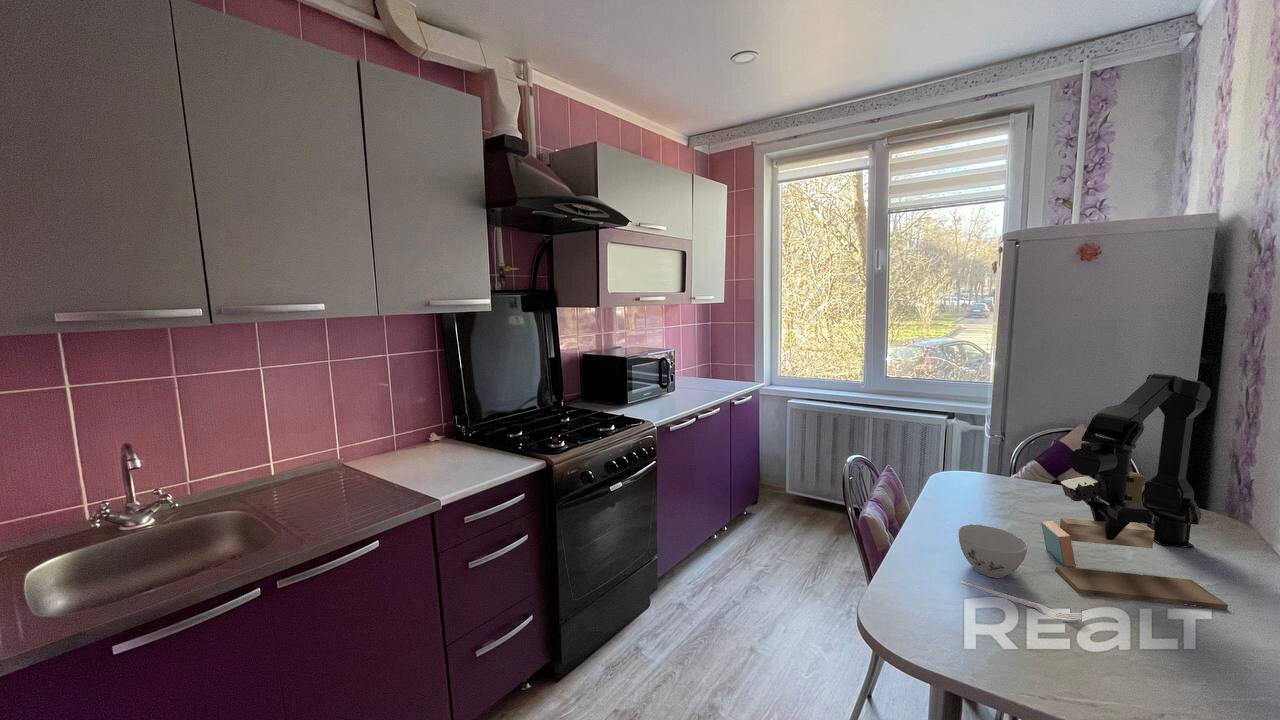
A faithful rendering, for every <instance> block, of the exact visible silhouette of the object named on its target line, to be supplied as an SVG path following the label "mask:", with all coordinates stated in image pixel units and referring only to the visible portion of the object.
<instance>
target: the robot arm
mask: <svg viewBox="0 0 1280 720" xmlns="http://www.w3.org/2000/svg"><path fill="white" fill-rule="evenodd" d="M1211 395H1212V389H1211V388H1210V387H1208V386H1207V385H1206V383H1205V382H1203V381H1199V380H1198V381H1197V380H1189V379H1184V378H1182V377H1181V376H1177V375H1173V374H1164V373H1153V374H1152V373H1149V374H1148V376H1147V377H1146V380H1145V381H1144V382H1143V383H1142V384H1141V385H1140V386H1139V387H1138V388H1137V389H1135V390H1134V391H1133V392H1132V393H1131V394H1130V395H1128V397H1126V399H1124V400H1123V401H1122V402H1121V403H1119V404H1116V405H1111V406H1106V407H1105V408H1103V409H1101V410H1100V411H1098V412H1097V413H1095V415H1094V416H1093V417H1092V419H1091V420H1090V422H1089V423H1088V426H1087V428H1086V429H1085V431H1084V433H1083V435H1082V436H1081V441H1082V443H1081V445H1080V448H1078V449H1077V448H1076V449H1074V450H1073V451H1072V452H1071V453H1070V455H1069V457H1068V462H1069V465H1070V466H1071V468H1072V470H1073V471H1075V472H1076V473H1078V474H1079V475H1082V476H1079V477H1073V478H1070V479H1064V480H1062V481H1060V484H1061V487H1062V491H1063V493H1064V495H1065V496H1066V497H1068V498H1069V499H1070V500H1071V501H1073V502H1081V501H1083V502H1084V503H1085V504H1086V505H1087V506H1088V507H1089V509H1090V511H1091V514H1092V517H1093V518H1092V519H1093V521H1103V522H1105V530H1106V539H1108V540H1114V538H1115V537H1116V536H1117V535H1118V534H1119V533H1120V532H1121V531H1122V530H1123V529H1124V528H1125V527H1126V526H1127V525H1128V524H1131V523H1133V524H1146V526H1147V527H1149V528H1151V529H1152V530H1154V531H1155V532H1154V540H1153V541H1155V542H1156V541H1157V542H1156V543H1158V542H1159V543H1160V544H1159V543H1158V544H1159V545H1161V544H1162V546H1169V545H1173V546H1172V547H1181V546H1187V547H1186V548H1192V547H1193V548H1195V545H1194V544H1192V543H1191V542H1190V534H1191V527H1192V525H1199V524H1200V520H1201V519H1202V511H1201V509H1200V507H1199V506H1198V505H1197V502H1196V500H1195V499H1194V498H1195V491H1194V488H1193V487H1192V486H1191V484H1190V483H1189V481H1188V480H1187V470H1188V465H1189V464H1188V463H1189V457H1190V456H1189V455H1190V448H1191V441H1192V434H1193V427H1194V419H1195V418H1196V417H1197V416H1198V415H1199V414H1200V413H1202V412H1203V411H1204V410H1205V409H1206V408H1207V403H1208V402H1209V400H1210V399H1211ZM1157 408H1159V410H1160V411H1161V413H1162V415H1163V425H1162V433H1161V440H1160V447H1159V448H1160V449H1159V455H1158V463H1157V465H1158V466H1157V471H1156V475H1155V476H1153V477H1152V478H1151V479H1150V480H1146V482H1145V485H1144V486H1143V487H1144V488H1143V490H1142V503H1143V506H1142V505H1140V504H1138V503H1124V500H1127V501H1132V496H1131V495H1129V494H1127V492H1128V483H1129V482H1133V483H1134V478H1133V477H1131V476H1129V473H1130V472H1131V465H1132V464H1131V462H1132V456H1133V455H1132V453H1133V449H1136V448H1137V445H1136V443H1137V441H1138V440H1139V439H1140V437H1141V435H1143V433H1144V430H1145V427H1144V422H1145V420H1146V419H1147V418H1148V417H1149V416H1150V415H1151V414H1152V413H1153V412H1154V411H1155V410H1157Z"/></svg>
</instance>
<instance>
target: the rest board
mask: <svg viewBox="0 0 1280 720" xmlns="http://www.w3.org/2000/svg"><path fill="white" fill-rule="evenodd" d="M1054 569H1055V572H1056V573H1057V574H1058V575H1059V576H1060V577H1061V578H1062V579H1064V581H1066V583H1067V584H1068V585H1069V586H1071V588H1073V589H1074V591H1075V592H1077V594H1080V595H1091V596H1100V597H1108V598H1117V599H1126V600H1127V599H1128V600H1137V601H1144V600H1146V601H1144V602H1152V601H1157V602H1156V603H1163V604H1171V603H1173V604H1172V605H1180V604H1187V605H1186V606H1189V605H1196V606H1195V607H1198V606H1202V607H1201V608H1207V607H1209V608H1208V609H1218V610H1225V611H1227V610H1228V606H1229V605H1228V604H1227V603H1226V602H1224V601H1223V600H1222V599H1221V598H1218V597H1217V596H1216V595H1215V594H1213V593H1211V592H1210V591H1209V590H1207V589H1206V588H1204V587H1203V586H1201V585H1200V584H1198V583H1197V582H1196V581H1194V580H1193V579H1189V578H1179V577H1168V576H1158V575H1148V574H1139V573H1138V574H1137V573H1129V572H1121V571H1119V572H1118V571H1108V570H1098V569H1090V568H1089V569H1088V568H1079V567H1070V566H1055V567H1054ZM1147 600H1148V601H1147ZM1174 603H1176V604H1174Z"/></svg>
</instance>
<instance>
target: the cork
mask: <svg viewBox="0 0 1280 720" xmlns="http://www.w3.org/2000/svg"><path fill="white" fill-rule="evenodd" d="M1129 476H1131V477H1133V478H1134V483H1133V482H1129V483H1128V492H1127V494H1129V495H1131V496H1132V501H1127V500H1124V503H1138V504H1140V505H1142V506H1143V503H1142V493H1143V487H1145V483H1146V482H1147V479H1146V477H1145V476H1144V475H1143V474H1141V473H1139V472H1133V471H1130V473H1129Z"/></svg>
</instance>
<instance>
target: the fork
mask: <svg viewBox="0 0 1280 720" xmlns="http://www.w3.org/2000/svg"><path fill="white" fill-rule="evenodd" d="M959 583H960V584H962V585H966V586H969V587H971V588H974V589H977V590H980V591H983V592H986V593H989V594H990V595H991V594H992V595H993V596H997V597H1000V598H1003V599H1006V600H1008V599H1009V600H1008V601H1012V602H1014V603H1018V604H1021V605H1023V606H1028V607H1030V608H1034V609H1036V610H1038V611H1039V612H1040V613H1041V614H1042V615H1045V616H1047V617H1049V618H1052V619H1055V620H1058V621H1061V622H1074V621H1080V620H1082V619H1083V618H1084V614H1085V613H1084V612H1081V613H1077V612H1076V613H1073V612H1062V611H1059V610H1054V609H1052V608H1049V607H1047V606H1045V605H1043V604H1040V603H1037V602H1033V601H1029V600H1027V599H1023V598H1020V597H1017V596H1014V595H1010V594H1007V593H1003V592H1001V591H996V590H993V589H989V588H986V587H983V586H979V585H975V584H972V583H969V582H966V581H962V580H961V581H960V582H959Z"/></svg>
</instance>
